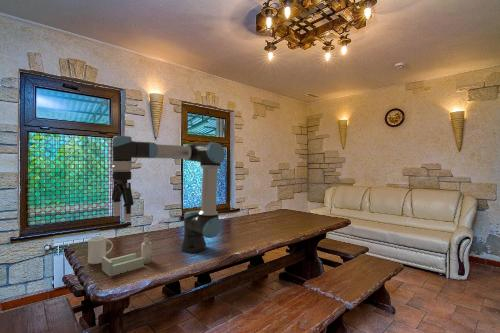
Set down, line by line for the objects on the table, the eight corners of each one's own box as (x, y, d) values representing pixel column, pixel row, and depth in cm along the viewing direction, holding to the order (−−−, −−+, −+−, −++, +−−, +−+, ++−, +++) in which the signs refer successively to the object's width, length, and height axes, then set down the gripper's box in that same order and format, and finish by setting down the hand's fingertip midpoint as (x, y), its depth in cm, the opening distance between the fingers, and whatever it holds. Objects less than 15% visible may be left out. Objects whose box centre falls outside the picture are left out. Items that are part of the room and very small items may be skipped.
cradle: (134, 261, 140) (134, 249, 140) (143, 266, 133) (143, 254, 133) (101, 270, 128) (101, 257, 128) (109, 276, 121) (110, 262, 121)
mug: (111, 255, 147) (111, 234, 147) (114, 260, 141) (114, 238, 140) (86, 260, 140) (87, 237, 140) (88, 265, 134) (88, 241, 133)
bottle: (148, 259, 143) (149, 233, 143) (153, 261, 140) (153, 234, 140) (139, 261, 139) (139, 234, 139) (143, 264, 136) (144, 236, 136)
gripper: (104, 170, 123) (104, 215, 124) (123, 172, 106) (122, 225, 106) (121, 169, 129) (121, 213, 129) (141, 171, 111) (141, 222, 111)
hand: (122, 218), depth 118 cm, fingers open, 13 cm apart
